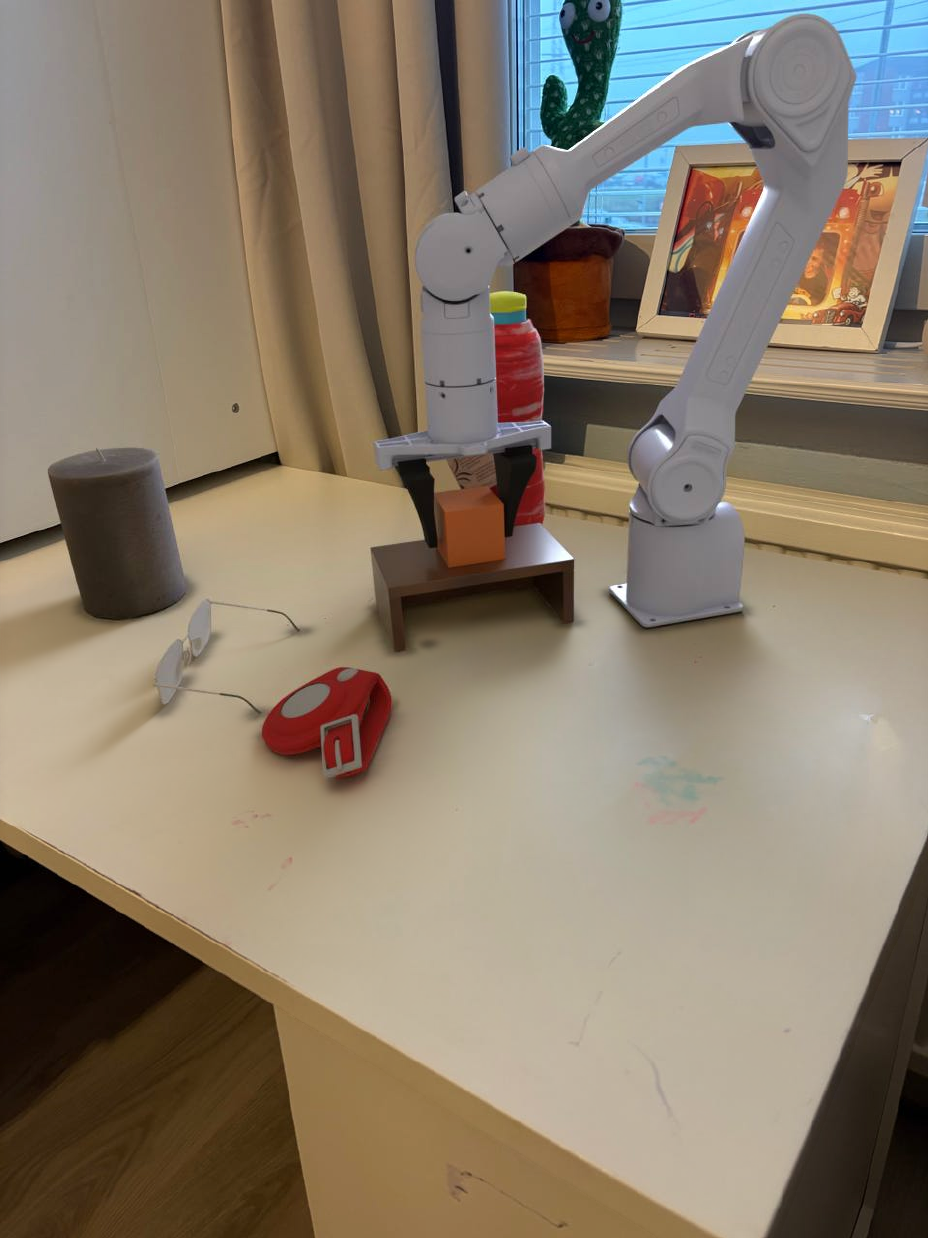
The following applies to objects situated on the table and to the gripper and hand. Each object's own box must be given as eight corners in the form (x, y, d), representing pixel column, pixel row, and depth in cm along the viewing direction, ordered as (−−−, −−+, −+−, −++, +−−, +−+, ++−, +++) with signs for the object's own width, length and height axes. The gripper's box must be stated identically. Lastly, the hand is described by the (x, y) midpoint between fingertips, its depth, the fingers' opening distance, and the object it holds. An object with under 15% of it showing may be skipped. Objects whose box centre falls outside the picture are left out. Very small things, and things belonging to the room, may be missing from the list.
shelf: (540, 581, 87) (540, 522, 84) (574, 621, 79) (574, 558, 76) (376, 607, 84) (370, 547, 81) (394, 652, 76) (388, 587, 73)
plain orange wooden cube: (489, 538, 81) (487, 485, 79) (505, 559, 77) (503, 503, 75) (435, 546, 80) (431, 492, 78) (448, 568, 76) (444, 512, 74)
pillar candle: (107, 630, 82) (65, 471, 75) (68, 598, 89) (26, 449, 82) (205, 595, 88) (174, 444, 81) (161, 567, 94) (130, 426, 87)
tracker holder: (228, 727, 65) (324, 644, 70) (258, 773, 67) (349, 688, 72) (328, 758, 56) (429, 660, 61) (359, 809, 58) (454, 710, 63)
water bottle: (474, 570, 90) (461, 306, 78) (431, 546, 96) (413, 298, 84) (567, 539, 96) (568, 290, 84) (521, 518, 101) (516, 283, 90)
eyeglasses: (213, 630, 81) (208, 590, 79) (302, 635, 81) (299, 595, 79) (156, 717, 69) (149, 672, 67) (261, 724, 68) (256, 679, 66)
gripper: (378, 400, 67) (394, 568, 73) (564, 379, 70) (564, 542, 76) (363, 380, 73) (379, 537, 79) (535, 362, 76) (537, 514, 82)
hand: (468, 538), depth 78 cm, fingers open, 6 cm apart
